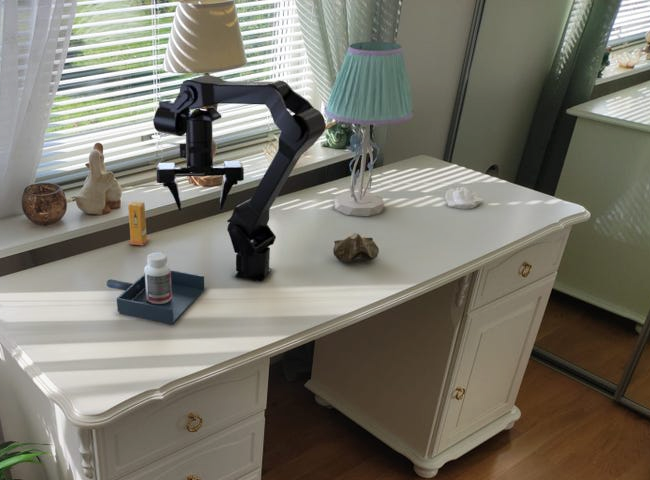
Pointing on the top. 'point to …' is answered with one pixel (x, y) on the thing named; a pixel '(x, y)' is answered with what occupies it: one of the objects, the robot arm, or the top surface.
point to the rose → (462, 198)
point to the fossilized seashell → (355, 248)
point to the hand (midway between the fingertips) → (200, 209)
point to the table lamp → (368, 110)
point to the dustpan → (137, 305)
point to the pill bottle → (158, 279)
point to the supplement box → (137, 223)
